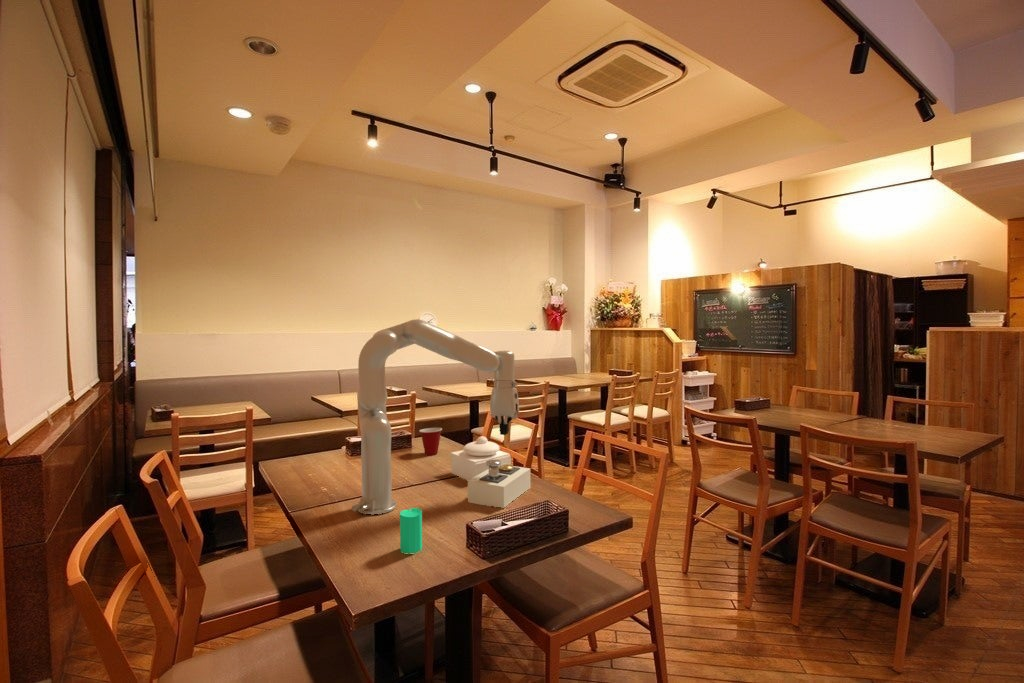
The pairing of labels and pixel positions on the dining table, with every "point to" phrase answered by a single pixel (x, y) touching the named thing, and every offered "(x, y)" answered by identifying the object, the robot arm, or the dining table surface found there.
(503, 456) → the butter dish
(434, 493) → the dining table surface
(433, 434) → the plastic cup
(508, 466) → the brass-capped peg
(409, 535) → the candle
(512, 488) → the socket block
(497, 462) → the grey peg
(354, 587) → the dining table surface
